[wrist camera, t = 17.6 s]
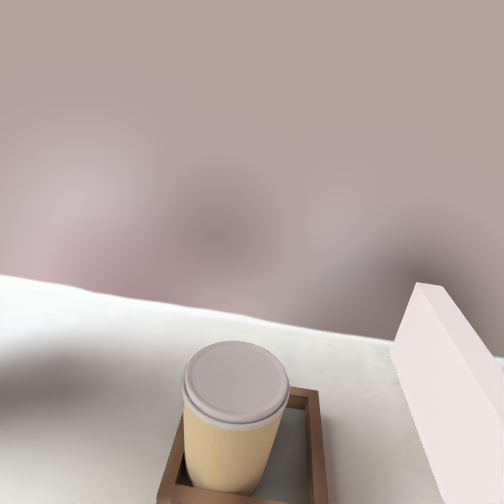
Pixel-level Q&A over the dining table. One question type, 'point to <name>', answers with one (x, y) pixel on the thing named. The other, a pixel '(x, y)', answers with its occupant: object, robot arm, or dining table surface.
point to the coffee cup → (231, 415)
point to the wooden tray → (277, 468)
